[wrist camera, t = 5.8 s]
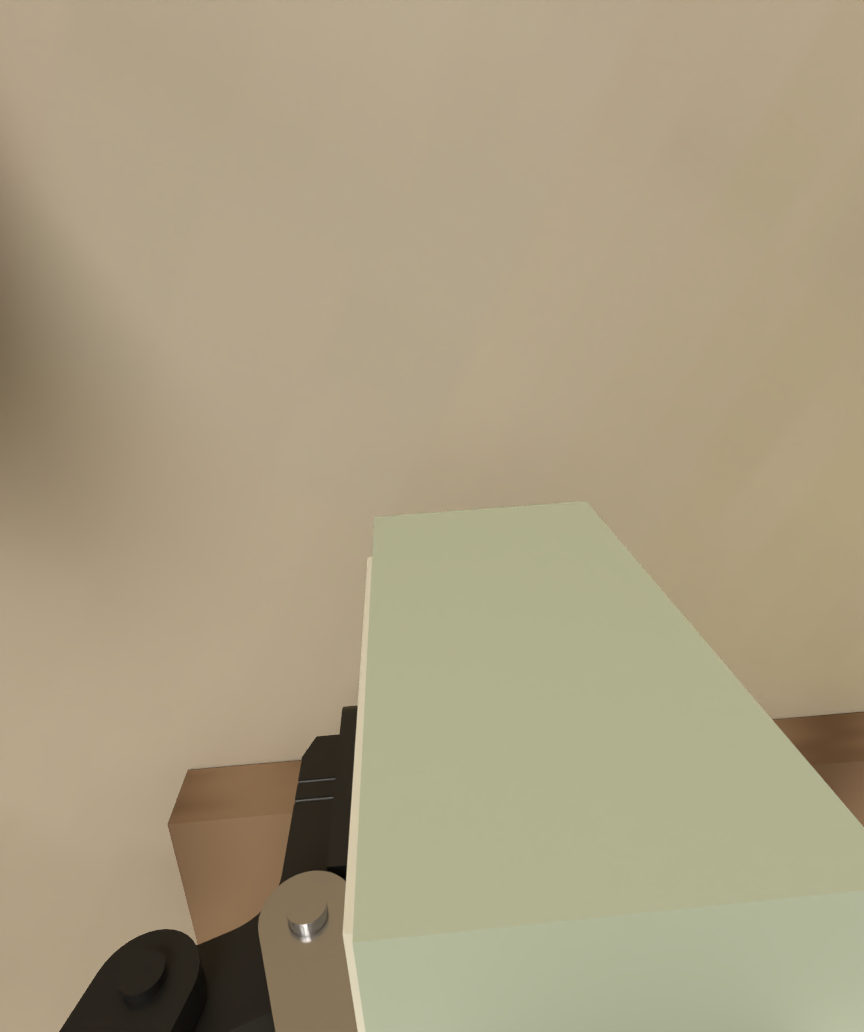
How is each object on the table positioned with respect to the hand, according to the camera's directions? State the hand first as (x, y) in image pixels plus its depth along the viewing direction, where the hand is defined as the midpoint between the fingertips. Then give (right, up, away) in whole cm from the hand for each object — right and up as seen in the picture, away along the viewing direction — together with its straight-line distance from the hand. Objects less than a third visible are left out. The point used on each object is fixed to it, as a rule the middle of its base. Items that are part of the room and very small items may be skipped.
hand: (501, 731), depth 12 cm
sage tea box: (0, +1, +2) cm, 2 cm away
